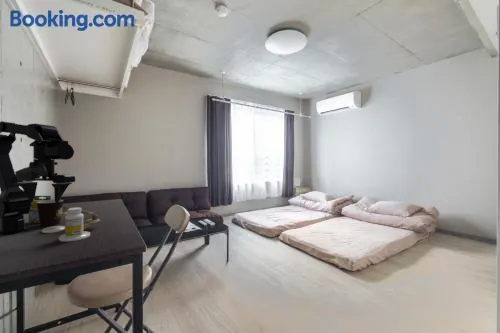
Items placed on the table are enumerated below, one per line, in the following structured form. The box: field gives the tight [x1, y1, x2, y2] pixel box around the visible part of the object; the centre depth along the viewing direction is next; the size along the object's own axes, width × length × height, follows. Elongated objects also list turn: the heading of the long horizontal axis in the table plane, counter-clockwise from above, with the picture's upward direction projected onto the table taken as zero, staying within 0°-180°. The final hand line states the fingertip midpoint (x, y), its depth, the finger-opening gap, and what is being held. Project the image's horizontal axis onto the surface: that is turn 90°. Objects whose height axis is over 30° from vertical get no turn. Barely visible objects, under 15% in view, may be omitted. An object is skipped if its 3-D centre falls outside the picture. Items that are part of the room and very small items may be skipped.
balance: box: [56, 205, 101, 230], centre depth 93 cm, size 17×5×9 cm, turn 91°
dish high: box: [41, 225, 65, 234], centre depth 89 cm, size 7×7×1 cm
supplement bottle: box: [64, 206, 85, 237], centre depth 82 cm, size 5×5×10 cm
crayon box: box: [28, 195, 52, 224], centre depth 100 cm, size 7×3×12 cm, turn 93°
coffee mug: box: [37, 199, 64, 228], centre depth 98 cm, size 12×9×10 cm
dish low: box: [58, 230, 91, 243], centre depth 82 cm, size 9×9×1 cm
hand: (44, 201), depth 82 cm, fingers open, 9 cm apart
